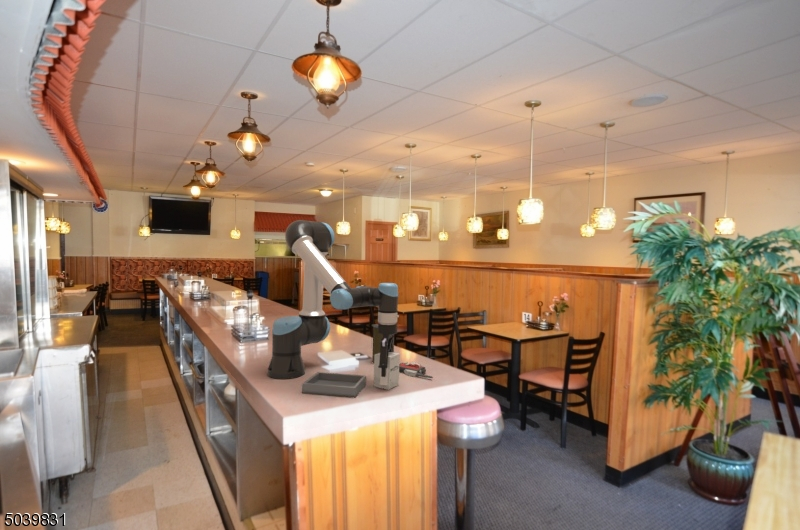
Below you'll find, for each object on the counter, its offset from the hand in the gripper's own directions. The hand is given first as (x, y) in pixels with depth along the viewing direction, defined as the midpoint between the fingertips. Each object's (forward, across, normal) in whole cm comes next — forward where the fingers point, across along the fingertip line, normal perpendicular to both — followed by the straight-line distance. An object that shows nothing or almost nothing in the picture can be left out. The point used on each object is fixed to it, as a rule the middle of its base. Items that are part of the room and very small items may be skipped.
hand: (386, 380), depth 158 cm
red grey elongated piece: (+3, +19, -9) cm, 21 cm away
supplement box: (+2, 0, 0) cm, 2 cm away
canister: (+2, +33, +9) cm, 34 cm away
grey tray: (+2, -8, +18) cm, 20 cm away
